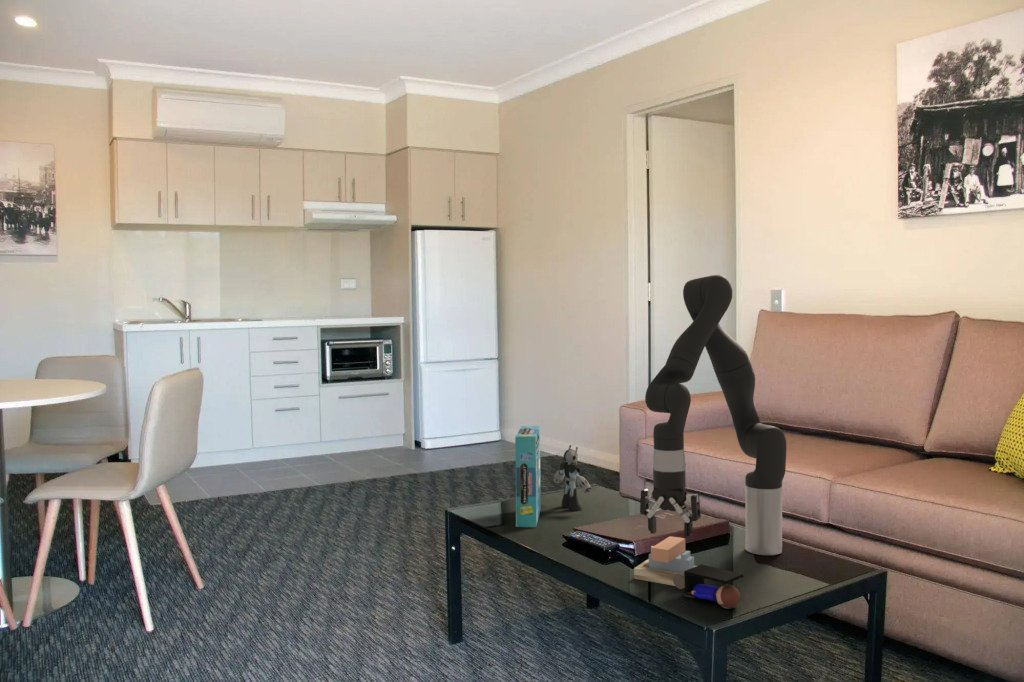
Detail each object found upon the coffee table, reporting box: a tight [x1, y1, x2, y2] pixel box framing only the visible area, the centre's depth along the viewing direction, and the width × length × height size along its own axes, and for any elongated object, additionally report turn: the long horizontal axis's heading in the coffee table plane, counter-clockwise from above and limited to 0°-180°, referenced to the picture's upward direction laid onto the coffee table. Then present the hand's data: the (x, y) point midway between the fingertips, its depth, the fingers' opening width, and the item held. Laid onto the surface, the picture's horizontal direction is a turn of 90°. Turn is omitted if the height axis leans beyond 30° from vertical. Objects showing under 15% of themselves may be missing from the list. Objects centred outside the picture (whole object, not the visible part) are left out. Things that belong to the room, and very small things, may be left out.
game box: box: [514, 425, 542, 528], centre depth 256 cm, size 20×6×27 cm, turn 175°
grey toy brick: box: [648, 545, 695, 573], centre depth 199 cm, size 3×10×6 cm, turn 58°
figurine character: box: [673, 564, 744, 610], centre depth 184 cm, size 7×8×15 cm
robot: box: [552, 444, 592, 512], centre depth 269 cm, size 20×5×20 cm, turn 29°
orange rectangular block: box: [652, 535, 686, 563], centre depth 199 cm, size 11×4×3 cm, turn 148°
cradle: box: [633, 558, 697, 587], centre depth 200 cm, size 9×14×2 cm, turn 57°
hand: (670, 535), depth 199 cm, fingers open, 8 cm apart
